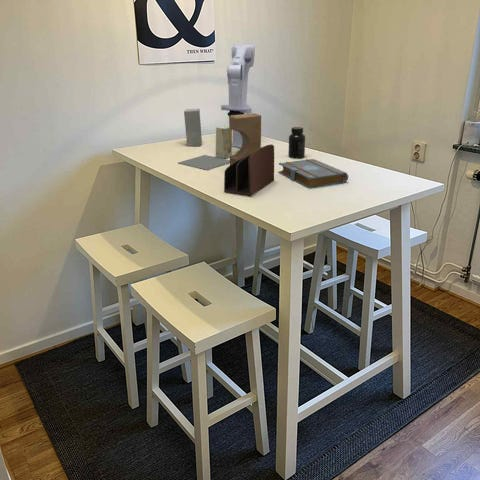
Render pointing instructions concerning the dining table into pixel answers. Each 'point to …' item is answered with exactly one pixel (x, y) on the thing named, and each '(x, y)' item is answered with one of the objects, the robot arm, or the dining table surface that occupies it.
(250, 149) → the decorative block
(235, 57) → the robot arm
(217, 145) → the skincare box
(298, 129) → the supplement bottle
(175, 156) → the dining table surface
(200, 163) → the mat
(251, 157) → the letter holder
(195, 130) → the skincare box
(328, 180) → the book
